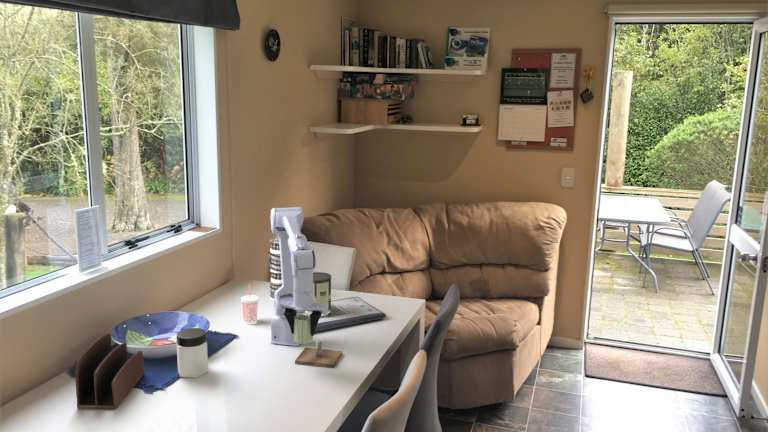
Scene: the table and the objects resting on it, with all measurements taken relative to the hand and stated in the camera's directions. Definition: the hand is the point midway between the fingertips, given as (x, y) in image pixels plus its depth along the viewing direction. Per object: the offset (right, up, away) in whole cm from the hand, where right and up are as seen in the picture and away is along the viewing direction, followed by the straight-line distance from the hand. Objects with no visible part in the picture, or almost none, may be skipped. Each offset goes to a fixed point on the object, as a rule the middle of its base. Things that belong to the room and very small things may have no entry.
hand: (303, 333), depth 183 cm
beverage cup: (-23, -3, +35) cm, 42 cm away
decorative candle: (-16, +2, +60) cm, 62 cm away
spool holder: (+4, -9, +7) cm, 12 cm away
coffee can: (-1, -1, +46) cm, 46 cm away
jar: (-32, -11, -3) cm, 34 cm away
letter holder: (-50, -13, -15) cm, 54 cm away
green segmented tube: (0, -2, 0) cm, 2 cm away
